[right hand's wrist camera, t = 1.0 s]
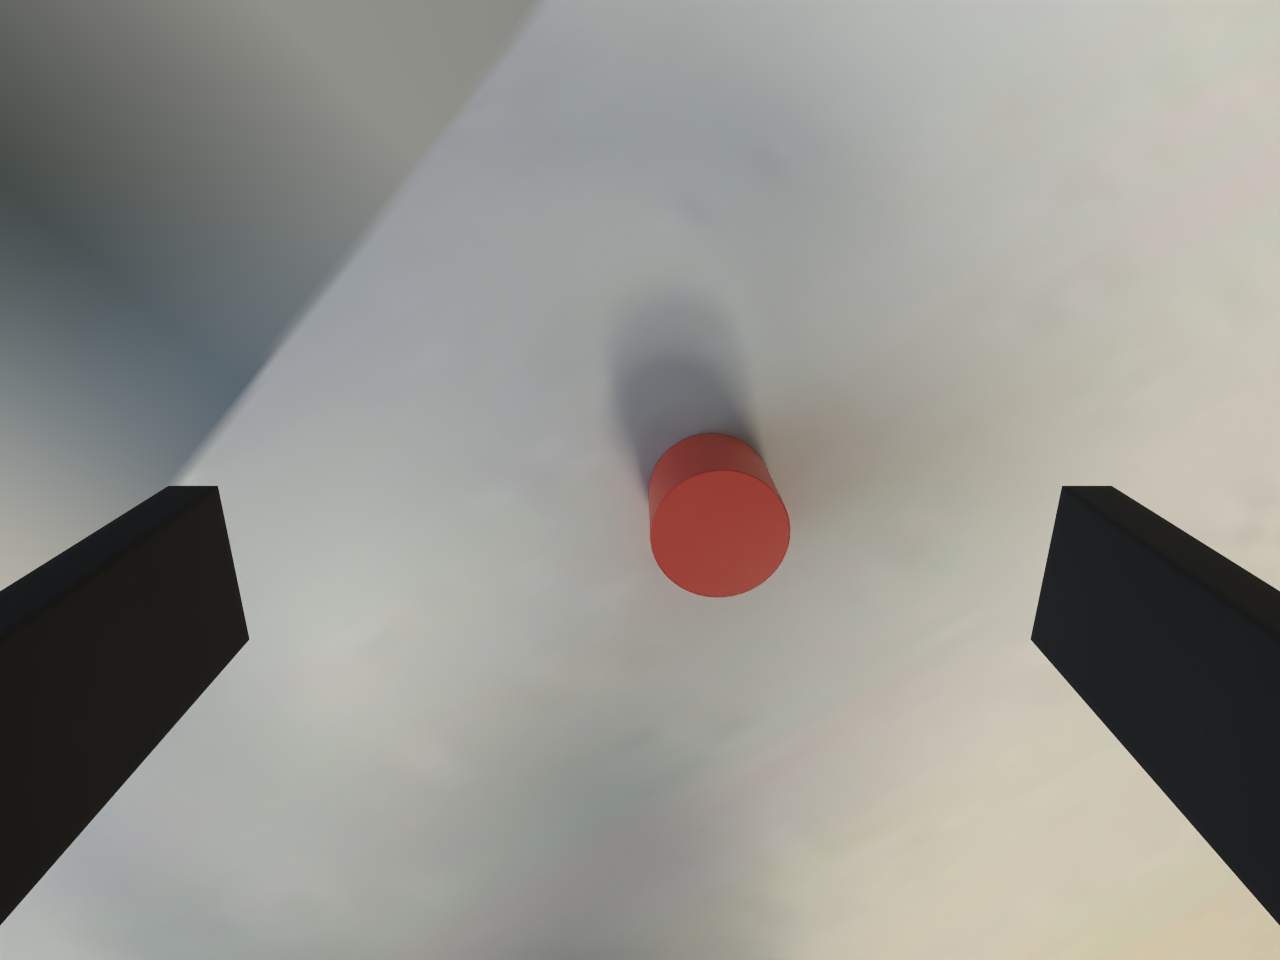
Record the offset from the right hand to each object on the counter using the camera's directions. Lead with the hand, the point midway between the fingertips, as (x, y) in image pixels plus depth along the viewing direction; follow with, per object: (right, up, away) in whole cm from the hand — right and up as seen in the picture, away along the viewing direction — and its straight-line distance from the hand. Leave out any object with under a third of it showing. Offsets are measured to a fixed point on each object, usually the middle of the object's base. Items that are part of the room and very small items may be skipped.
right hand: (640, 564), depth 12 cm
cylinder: (+3, +1, +17) cm, 17 cm away
